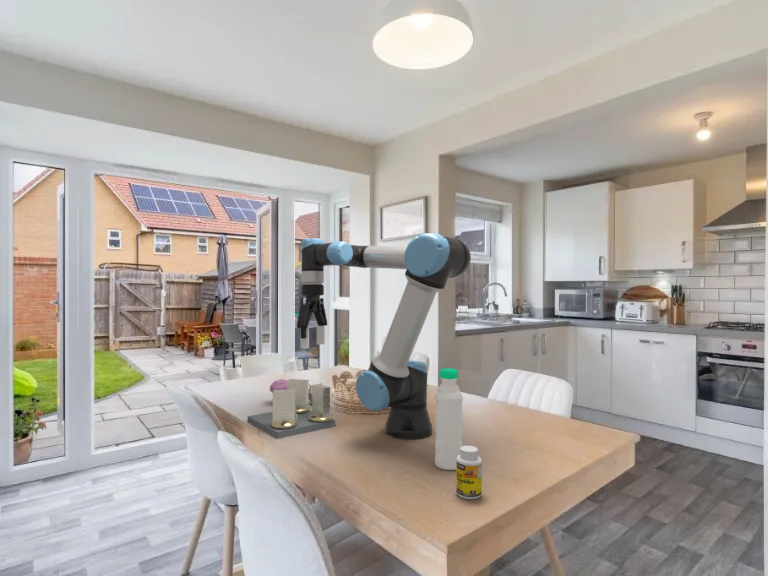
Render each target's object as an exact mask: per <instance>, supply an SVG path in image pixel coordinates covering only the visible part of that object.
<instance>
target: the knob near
mask: <svg viewBox="0 0 768 576" xmlns="http://www.w3.org/2000/svg"><path fill="white" fill-rule="evenodd" d="M272 412H273V421H272V423H271V426H272V427H273V428H276V429H288V428H292V427H295V426H297V420H296V390H274V391H273V393H272Z"/></svg>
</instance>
